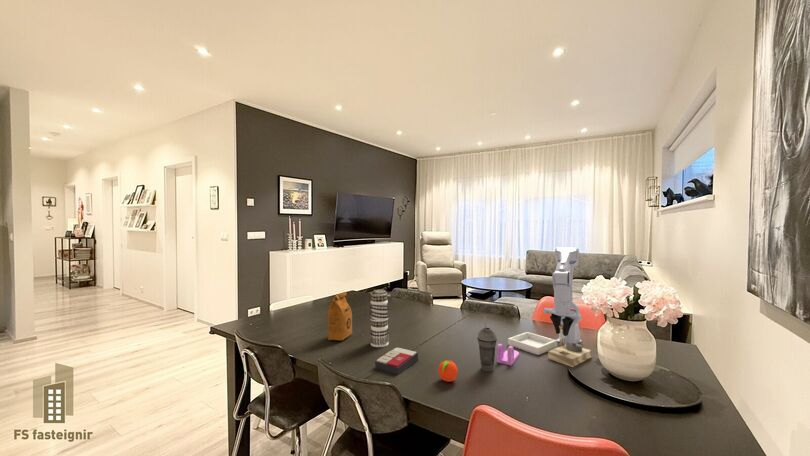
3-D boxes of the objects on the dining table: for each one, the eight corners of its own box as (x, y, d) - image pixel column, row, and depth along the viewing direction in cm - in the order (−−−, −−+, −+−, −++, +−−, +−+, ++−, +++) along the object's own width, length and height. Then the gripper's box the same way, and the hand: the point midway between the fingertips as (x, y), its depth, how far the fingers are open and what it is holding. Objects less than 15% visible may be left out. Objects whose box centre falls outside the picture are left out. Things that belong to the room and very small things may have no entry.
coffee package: (355, 334, 165) (355, 291, 165) (342, 343, 153) (342, 296, 153) (338, 332, 168) (338, 290, 168) (324, 340, 156) (324, 295, 156)
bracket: (511, 365, 127) (511, 348, 126) (497, 362, 130) (497, 345, 130) (520, 354, 137) (520, 338, 137) (507, 352, 140) (507, 336, 140)
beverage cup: (486, 374, 119) (486, 320, 119) (473, 367, 125) (473, 315, 125) (501, 370, 122) (500, 317, 122) (488, 363, 129) (487, 313, 129)
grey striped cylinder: (366, 345, 149) (365, 291, 149) (375, 339, 158) (374, 288, 157) (384, 348, 146) (383, 293, 145) (392, 341, 154) (391, 289, 154)
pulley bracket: (567, 350, 141) (566, 337, 141) (591, 357, 133) (591, 344, 133) (548, 358, 132) (548, 345, 132) (572, 367, 124) (572, 352, 124)
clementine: (452, 388, 109) (451, 367, 109) (433, 383, 113) (433, 363, 113) (461, 379, 116) (460, 359, 116) (443, 374, 120) (443, 355, 120)
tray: (527, 337, 157) (527, 331, 157) (557, 347, 145) (557, 340, 145) (508, 344, 148) (508, 338, 148) (538, 355, 136) (538, 348, 136)
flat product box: (374, 359, 126) (396, 345, 138) (374, 370, 126) (396, 355, 138) (397, 366, 120) (418, 350, 132) (398, 377, 120) (418, 360, 132)
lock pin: (560, 343, 133) (560, 324, 133) (567, 345, 131) (567, 325, 131) (557, 344, 132) (556, 325, 132) (563, 346, 130) (563, 327, 129)
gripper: (539, 299, 135) (540, 331, 135) (575, 305, 123) (575, 341, 123) (548, 296, 139) (549, 328, 139) (583, 303, 127) (584, 337, 127)
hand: (562, 334), depth 131 cm, fingers closed on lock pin, 3 cm apart
